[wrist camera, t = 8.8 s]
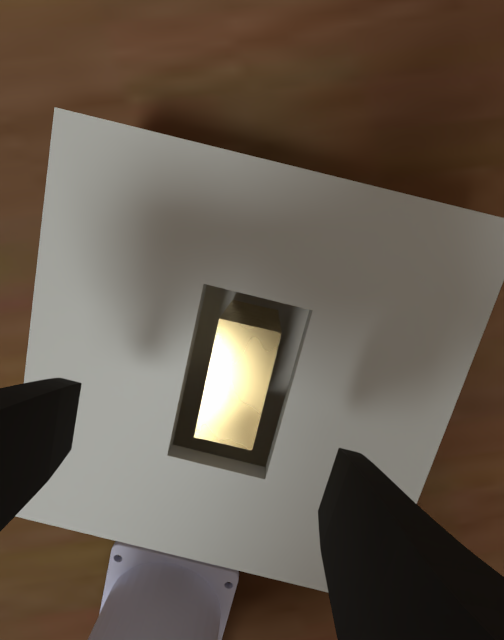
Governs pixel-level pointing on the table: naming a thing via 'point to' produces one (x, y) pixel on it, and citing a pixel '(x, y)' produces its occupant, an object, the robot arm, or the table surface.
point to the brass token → (239, 374)
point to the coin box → (200, 330)
